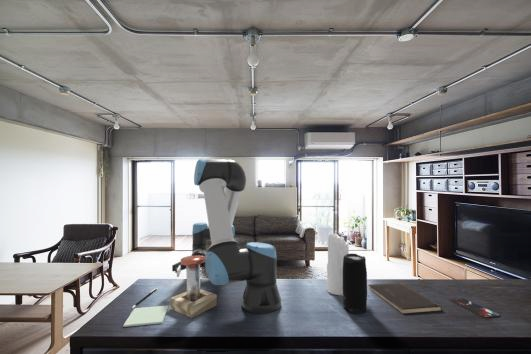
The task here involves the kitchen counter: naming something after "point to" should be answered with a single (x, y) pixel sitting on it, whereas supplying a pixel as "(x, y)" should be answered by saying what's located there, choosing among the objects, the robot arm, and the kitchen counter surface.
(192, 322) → the kitchen counter surface
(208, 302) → the block
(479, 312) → the smartphone
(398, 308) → the hardcover book
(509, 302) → the kitchen counter surface
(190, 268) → the steel peg
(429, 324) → the kitchen counter surface
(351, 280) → the portable speaker
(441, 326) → the kitchen counter surface
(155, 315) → the sage pad
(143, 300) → the pen
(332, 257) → the decorative vase
